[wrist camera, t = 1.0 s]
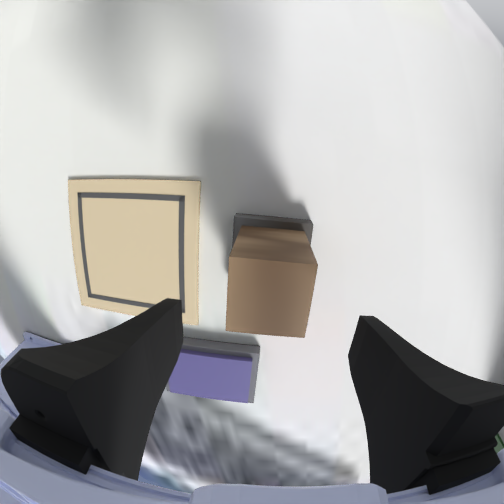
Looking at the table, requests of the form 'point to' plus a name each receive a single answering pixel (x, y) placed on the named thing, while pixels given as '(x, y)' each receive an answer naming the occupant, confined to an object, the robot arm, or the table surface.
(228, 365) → the pad
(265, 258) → the stamp
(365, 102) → the table surface
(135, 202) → the card
